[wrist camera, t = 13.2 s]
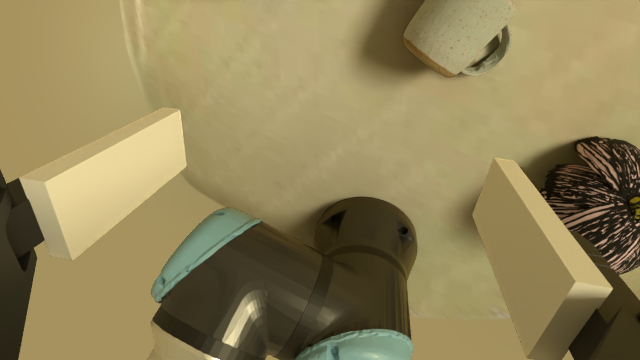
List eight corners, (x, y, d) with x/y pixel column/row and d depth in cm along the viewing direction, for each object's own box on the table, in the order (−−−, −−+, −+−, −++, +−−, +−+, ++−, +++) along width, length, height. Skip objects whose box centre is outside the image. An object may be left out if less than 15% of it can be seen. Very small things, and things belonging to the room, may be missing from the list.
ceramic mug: (395, 37, 38) (398, 46, 31) (446, -38, 34) (462, -46, 27) (469, 90, 39) (487, 109, 32) (527, 24, 35) (561, 31, 28)
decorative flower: (774, 227, 31) (627, 323, 33) (665, 207, 42) (562, 279, 45) (661, 108, 31) (526, 211, 34) (584, 120, 43) (487, 196, 45)
